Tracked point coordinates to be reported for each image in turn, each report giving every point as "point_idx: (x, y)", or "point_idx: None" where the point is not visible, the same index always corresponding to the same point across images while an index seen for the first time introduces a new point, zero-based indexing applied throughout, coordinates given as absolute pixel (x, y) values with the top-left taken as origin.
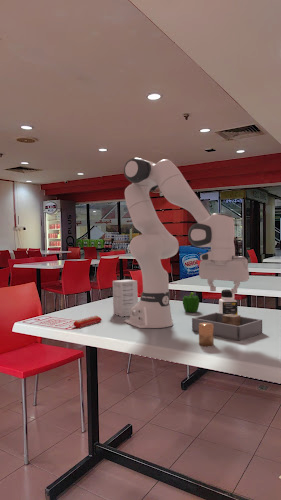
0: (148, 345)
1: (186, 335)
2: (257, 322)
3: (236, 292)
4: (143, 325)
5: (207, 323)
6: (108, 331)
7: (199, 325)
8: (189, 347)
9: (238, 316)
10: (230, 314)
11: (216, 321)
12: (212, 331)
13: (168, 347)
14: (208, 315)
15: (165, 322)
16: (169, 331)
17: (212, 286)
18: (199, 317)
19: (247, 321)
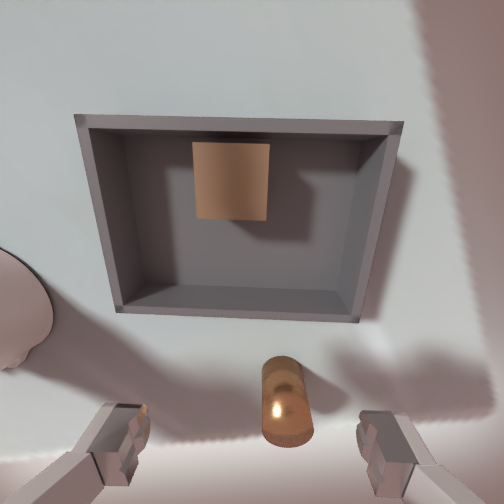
0: (184, 441)
1: (177, 338)
2: (388, 175)
3: (404, 425)
4: (13, 362)
5: (284, 421)
6: (9, 422)
7: (276, 443)
8: None
9: (268, 167)
10: (209, 161)
11: (118, 135)
12: (309, 408)
13: (228, 430)
14: (105, 207)
15: (33, 320)
16: (104, 335)
17: (99, 475)
18: (118, 276)
19: (306, 135)
